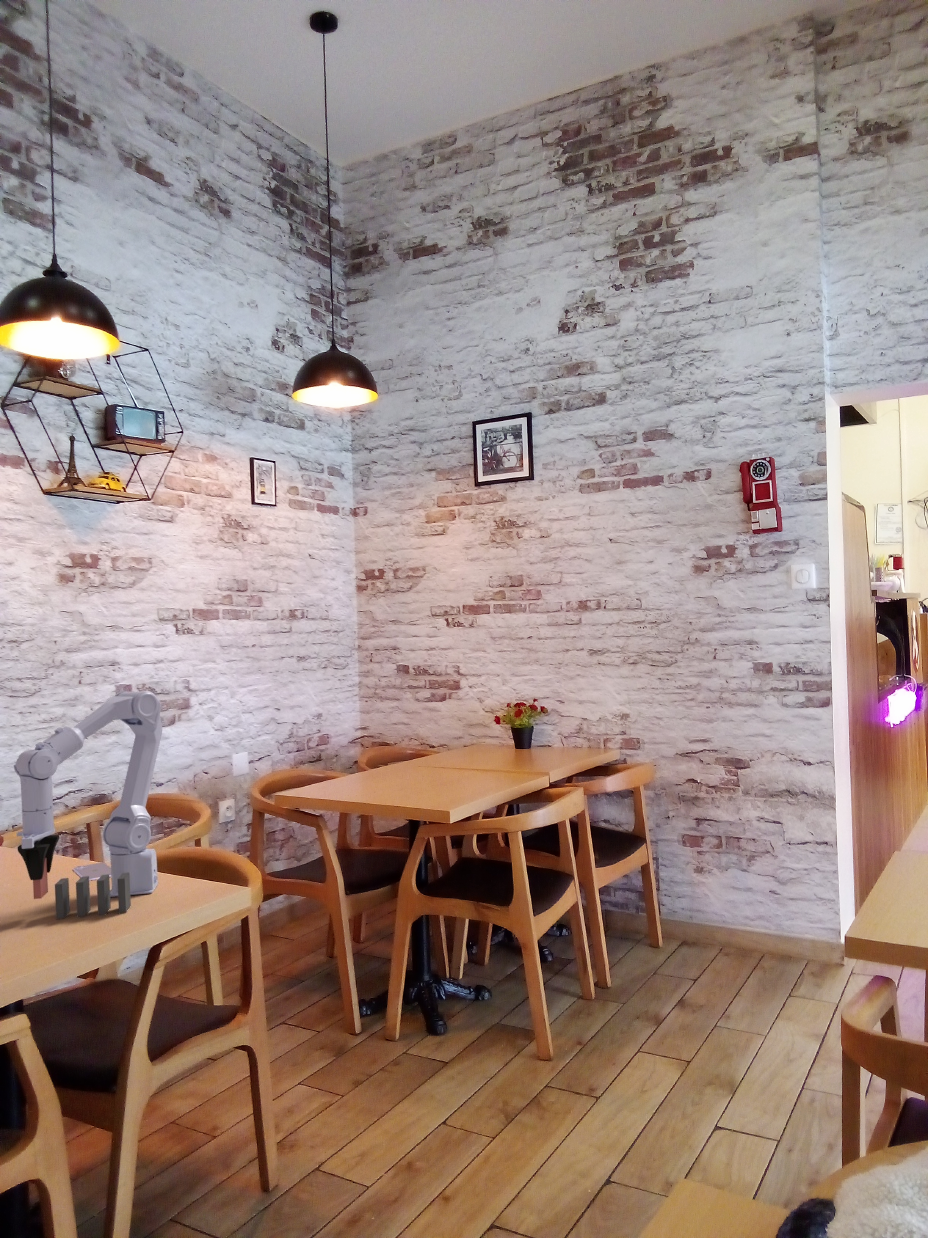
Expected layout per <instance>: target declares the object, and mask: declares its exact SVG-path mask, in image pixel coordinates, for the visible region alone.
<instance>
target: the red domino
mask: <svg viewBox="0 0 928 1238" xmlns="http://www.w3.org/2000/svg"><path fill="white" fill-rule="evenodd" d="M48 879H49V878H48V873H47V858H45V863H44V873H43V878H42V879H40V880H32V887H33V889H32V890H33V891H32V892H33V900H37V899H38V900H39V899H42V898H44V897H45V895H46V894H48V893H49V883H48V881H49V880H48Z"/></svg>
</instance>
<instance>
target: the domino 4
mask: <svg viewBox="0 0 928 1238" xmlns="http://www.w3.org/2000/svg"><path fill="white" fill-rule="evenodd" d="M117 880H118V896H117V899H118V903H117V904H118V914H119V913H120V914H126V913H127V912H128V911H129V910H130V909H131V907H132V903H131V902H132V901H131V895H130V874H129V873H122V874H121V875H120V877H119V878H118V879H117ZM130 906H131V907H130ZM128 909H129V910H128ZM127 910H128V911H127Z"/></svg>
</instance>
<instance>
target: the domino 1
mask: <svg viewBox="0 0 928 1238" xmlns="http://www.w3.org/2000/svg"><path fill="white" fill-rule="evenodd" d="M69 883H70V880H69V877H64V878H62V877H61V878H60V879H59V880H58V881H57V882H56V883H55V884H54V897H55V898H54V899H55V901H54V902H55V920H65V918H66V917H67V916H68V915H69V914H70V913H71V905H70V884H69Z"/></svg>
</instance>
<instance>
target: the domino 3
mask: <svg viewBox="0 0 928 1238" xmlns="http://www.w3.org/2000/svg"><path fill="white" fill-rule="evenodd" d="M110 890H111V883H110V877H109V874H108V875H102V876H101V877H100V878H99V879H98V880H96V893H97V894H96V896H97V915H99V916H106V915H107V914H108V912H109V911H110V910H109V909H111V897H110ZM108 910H109V911H108ZM106 913H107V914H106ZM105 914H106V915H105Z"/></svg>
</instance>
